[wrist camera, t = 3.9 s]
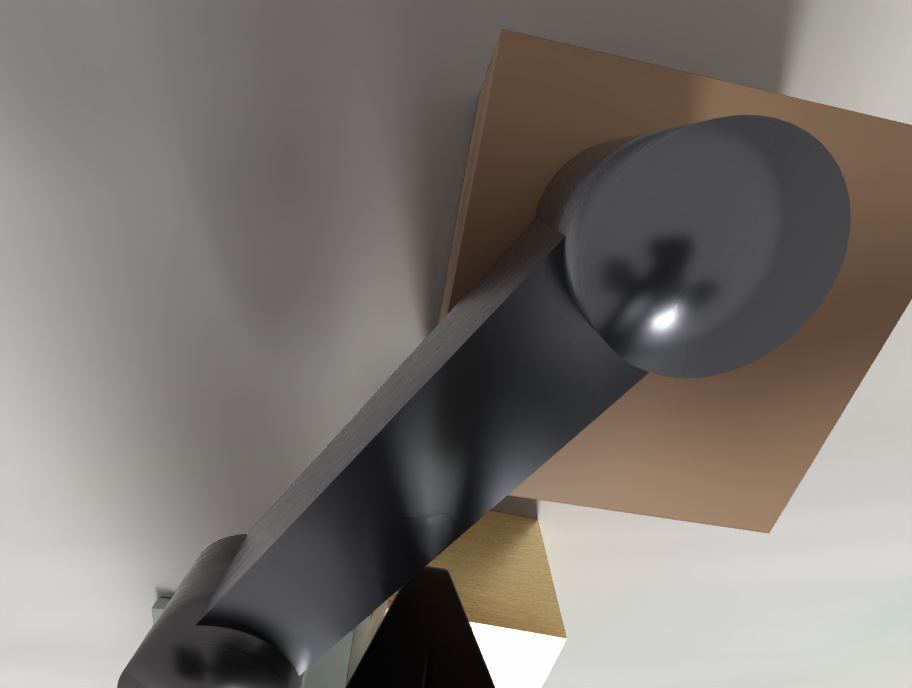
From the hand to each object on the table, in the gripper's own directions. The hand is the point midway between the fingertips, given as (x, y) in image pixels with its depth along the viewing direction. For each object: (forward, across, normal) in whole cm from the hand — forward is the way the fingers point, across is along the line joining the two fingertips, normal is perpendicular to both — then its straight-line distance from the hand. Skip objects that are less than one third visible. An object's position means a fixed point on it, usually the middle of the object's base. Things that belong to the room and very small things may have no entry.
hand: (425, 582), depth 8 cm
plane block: (+5, -3, -5) cm, 8 cm away
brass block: (+6, -2, +6) cm, 8 cm away
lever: (0, +1, -3) cm, 3 cm away
